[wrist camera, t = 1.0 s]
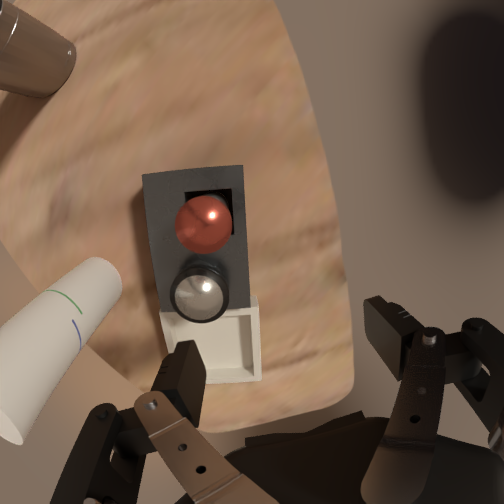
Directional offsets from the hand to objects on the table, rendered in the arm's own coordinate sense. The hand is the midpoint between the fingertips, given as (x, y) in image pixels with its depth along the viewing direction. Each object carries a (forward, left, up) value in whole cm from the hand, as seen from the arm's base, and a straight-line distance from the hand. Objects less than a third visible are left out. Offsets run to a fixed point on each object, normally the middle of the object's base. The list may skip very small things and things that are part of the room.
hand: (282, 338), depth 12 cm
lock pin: (-4, +3, -22) cm, 22 cm away
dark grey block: (-6, 0, -22) cm, 22 cm away
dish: (-6, -14, -22) cm, 26 cm away
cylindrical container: (-21, -5, -22) cm, 30 cm away
